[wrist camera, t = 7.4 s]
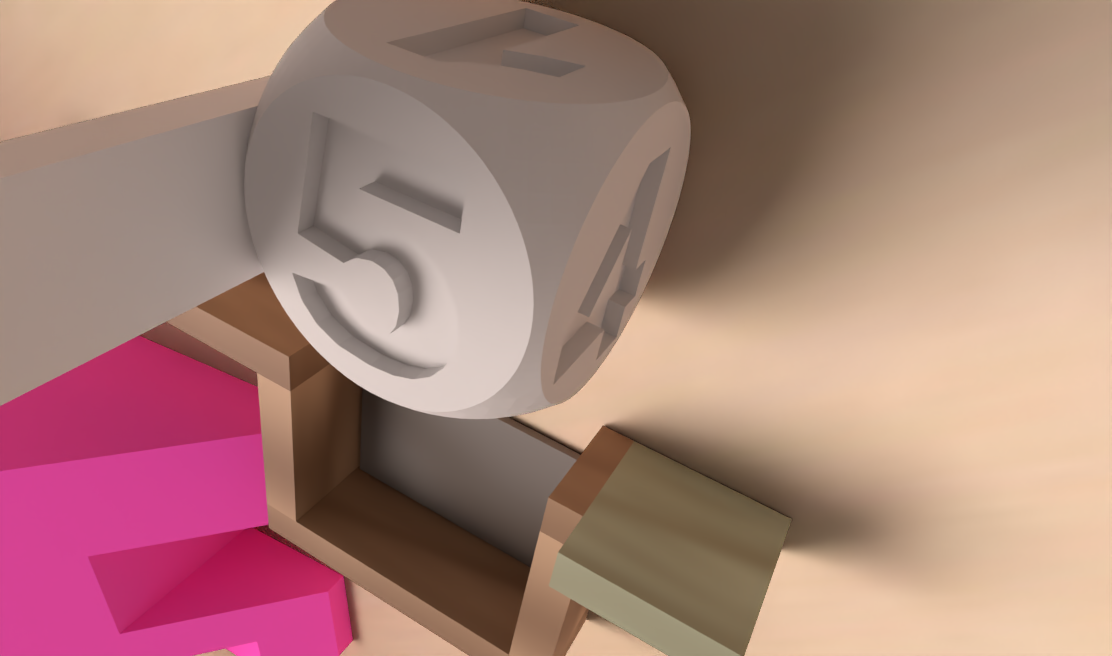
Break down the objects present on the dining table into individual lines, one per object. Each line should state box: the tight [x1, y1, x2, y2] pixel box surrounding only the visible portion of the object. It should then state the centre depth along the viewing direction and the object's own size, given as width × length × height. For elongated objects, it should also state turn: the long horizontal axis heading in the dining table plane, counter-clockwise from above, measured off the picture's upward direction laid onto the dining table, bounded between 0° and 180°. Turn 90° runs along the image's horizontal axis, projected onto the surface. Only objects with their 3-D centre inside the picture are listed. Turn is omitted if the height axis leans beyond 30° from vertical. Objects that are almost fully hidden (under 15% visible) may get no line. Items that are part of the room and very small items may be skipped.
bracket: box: [0, 336, 353, 656], centre depth 22 cm, size 12×10×10 cm
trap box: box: [166, 272, 792, 656], centre depth 14 cm, size 24×22×4 cm
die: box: [244, 0, 691, 419], centre depth 12 cm, size 5×5×5 cm
